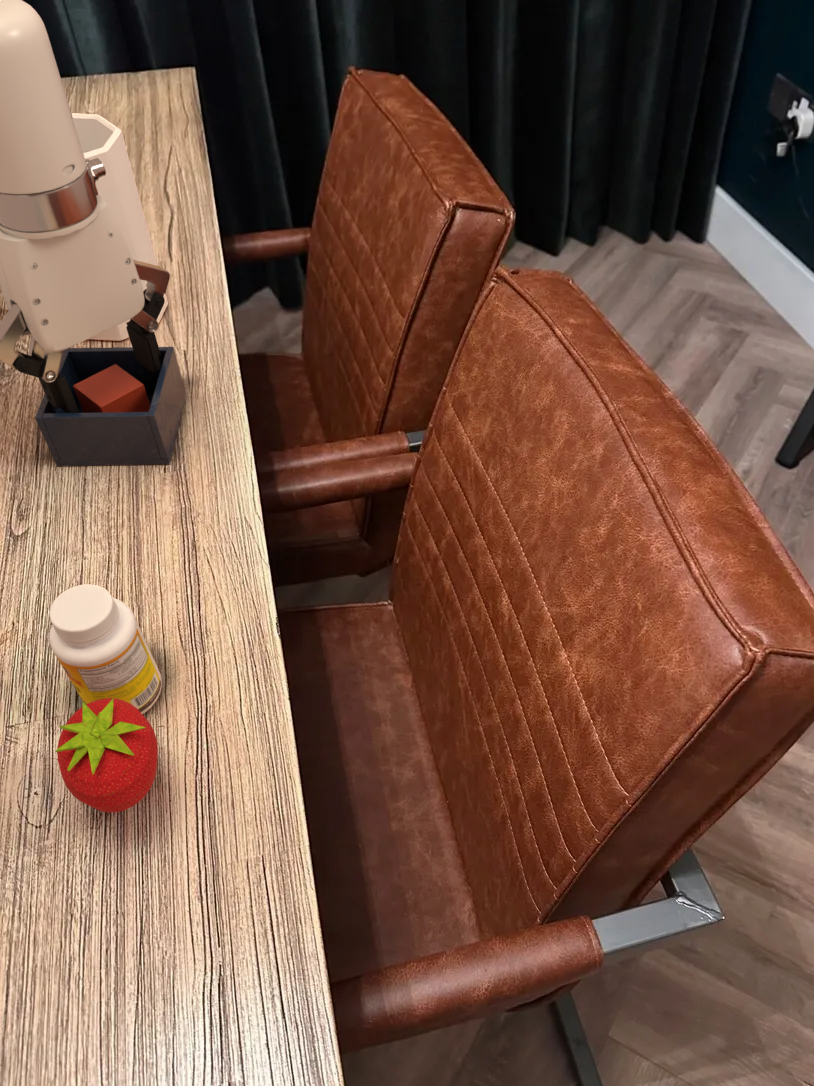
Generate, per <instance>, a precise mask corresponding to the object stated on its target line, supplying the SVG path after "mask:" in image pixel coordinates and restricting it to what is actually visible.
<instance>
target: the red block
mask: <svg viewBox="0 0 814 1086" xmlns="http://www.w3.org/2000/svg"><path fill="white" fill-rule="evenodd" d="M73 387H74V390H75V392H76V395H77V397H78V400H79V402H80V405H81V407H82V410H83V412H84V413H107V412H148V413H149V409H150V403H149V400H148V397H147V394H146V391H145V387H144V385H143V384H142V383H141V382H139V381H138V380H137V379H135V378H134V377H133V376H131V375H130V374H128V373H127V372H126V371H124V370H123V369H122V368H120V367H119V366H118V365H116V364H115V365H113V366H111V367H109V368H107V369H105V370H103V371H101V372H99V373H97V374H95V375H93V376H91V377H89V378H87V379H85V380H83V381H81V382H79V383H77V384H75V385H73Z"/></svg>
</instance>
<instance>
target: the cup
mask: <svg viewBox="0 0 814 1086" xmlns="http://www.w3.org/2000/svg"><path fill="white" fill-rule="evenodd" d="M71 114H72V117H73V120H74V124H75V127H76V130H77V134H78V137H79V140H80V144H81V147H82V150H83V154H84V157H85V160H86V159H89V160H92V159H95V158H98V159H99V160H101V162H102V163H103V165H104V167H105V170H106V175H105V176H103V177H100V178H99V179H98V181H96V183H95V185H96V188H97V191H98V195H100V196H101V197H102V198H103V199H104V200H105V201H106V203H107V205H108V207H109V209H110V210H111V212H112V214H113V216H114V218H115V220H116V222H117V224H118V226H119V228H120V230H121V232H122V235H123V237H124V239H125V241H126V244H127V246H128V248H129V251H130V253H131V256H132V259H133V260H136V261H140V262H144V263H148V264H152V265H156V266H159V264H158V261H157V257H156V253H155V250H154V246H153V241H152V239H151V233H150V231H149V227H148V224H147V220H146V216H145V214H144V209H143V205H142V202H141V197H140V194H139V190H138V187H137V183H136V179H135V176H134V172H133V168H132V165H131V161H130V157H129V154H128V149H127V146H126V144H125V143H126V142H125V139H124V135H123V132H122V130H121V129H120V128H119V127H118V126H116V124H115V125H114V124H113V123H112V122H110V121H109V120H107V119H106V118H105V117H103V116H101V115H100V114H97V113H78V112H77V113H73V112H71ZM140 282H141V285H142V289H143V291H144V290H145V289H147V286H146V285H147V281H145V280H141V279H140ZM163 297H164V299H165V302H164V305H163V307H162V309H161V312H160V314H159V316H158V318H157V320H156V321H157V322H158V325H159V323H160V322H161V320H162V318H163V316H164V313H165V312H166V310H167V308H168V305H169V302H168V298H167V294H166V293H165V294H164V296H163ZM130 320H131V319H128V320H127V321H125V322H123V323H120V324H118V325H116V326H114V327H112V328H110V329H108V330H106V331H104V332H102V333H100V334H98V335H96V336H94V337H91V338H89V339H88V340H96V341H98V340H100V341H117V342H118V341H119V342H122V341H124V340H127V339H130V338H129V335H128V332H127V328H126V327H127V322H129V321H130Z"/></svg>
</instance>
